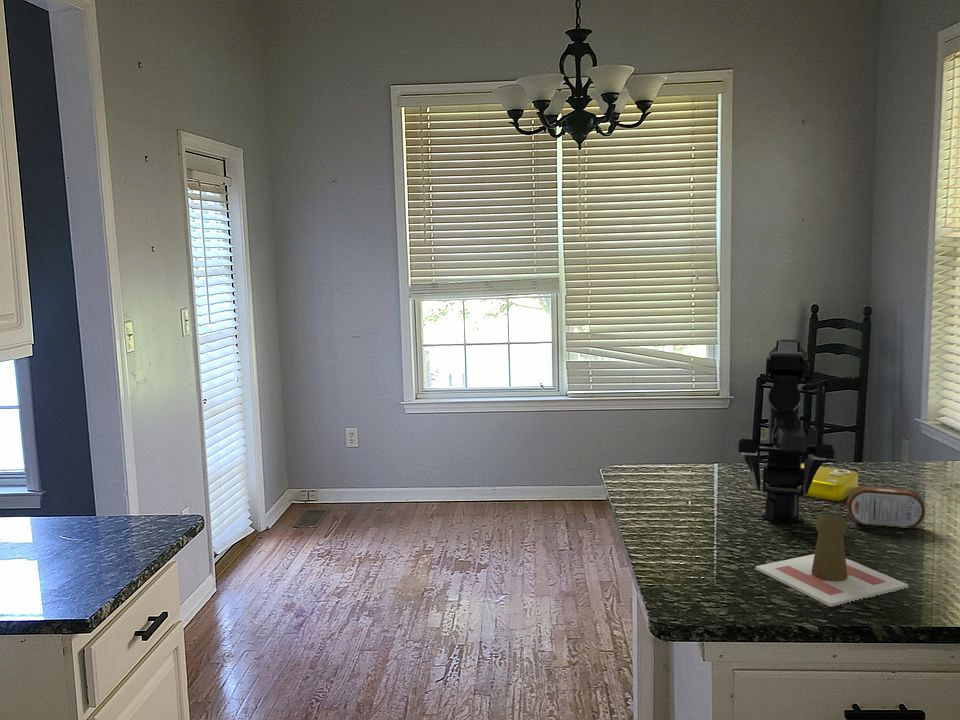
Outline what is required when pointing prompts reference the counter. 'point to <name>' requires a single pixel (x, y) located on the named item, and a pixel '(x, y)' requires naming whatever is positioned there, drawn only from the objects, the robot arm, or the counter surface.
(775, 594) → the counter surface
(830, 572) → the cork
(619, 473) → the counter surface
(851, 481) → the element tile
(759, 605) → the counter surface
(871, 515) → the tin
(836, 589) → the letter board
